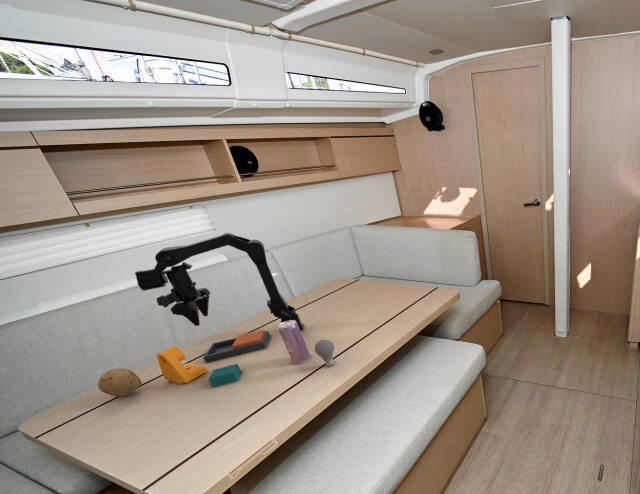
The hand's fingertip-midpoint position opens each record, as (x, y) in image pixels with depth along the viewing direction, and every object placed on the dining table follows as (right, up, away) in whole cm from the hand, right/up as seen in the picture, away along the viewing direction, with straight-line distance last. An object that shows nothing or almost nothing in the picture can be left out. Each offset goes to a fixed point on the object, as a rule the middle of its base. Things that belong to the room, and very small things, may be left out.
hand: (202, 320), depth 134 cm
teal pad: (+20, -20, -13) cm, 31 cm away
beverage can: (+41, -14, -5) cm, 44 cm away
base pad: (+13, -10, +8) cm, 18 cm away
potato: (-10, -24, -16) cm, 31 cm away
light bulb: (+54, -16, -9) cm, 57 cm away
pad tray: (+9, -11, +7) cm, 16 cm away
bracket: (+3, -20, -9) cm, 22 cm away
